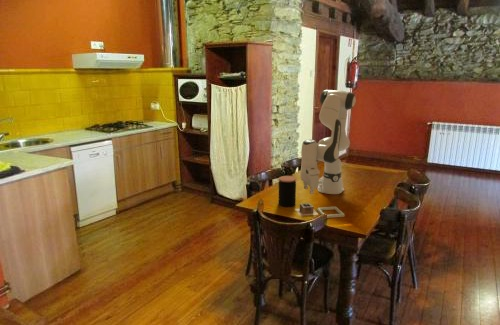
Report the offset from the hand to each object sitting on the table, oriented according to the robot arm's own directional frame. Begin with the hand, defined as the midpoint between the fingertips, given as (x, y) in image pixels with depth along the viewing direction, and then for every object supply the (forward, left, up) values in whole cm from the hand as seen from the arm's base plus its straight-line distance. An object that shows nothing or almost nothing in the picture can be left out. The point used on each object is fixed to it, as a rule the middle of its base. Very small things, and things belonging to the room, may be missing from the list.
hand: (308, 191), depth 205 cm
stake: (-1, -1, -14) cm, 14 cm away
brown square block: (-1, -1, -13) cm, 13 cm away
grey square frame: (+4, +12, -14) cm, 19 cm away
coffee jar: (-15, -9, -14) cm, 23 cm away
